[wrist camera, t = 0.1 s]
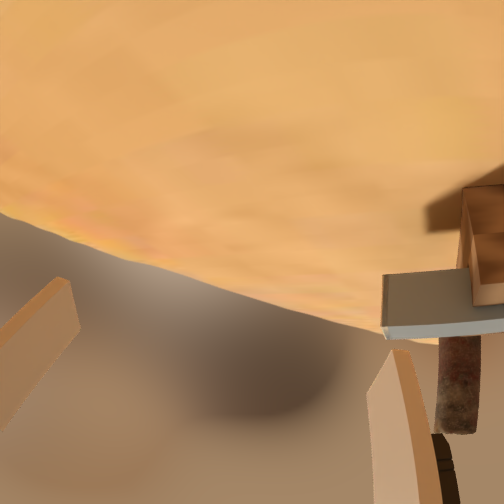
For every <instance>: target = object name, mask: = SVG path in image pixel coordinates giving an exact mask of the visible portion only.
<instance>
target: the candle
mask: <svg viewBox="0 0 504 504" xmlns="http://www.w3.org/2000/svg"><path fill="white" fill-rule="evenodd" d="M480 368H481V335H478V336H466V337H460V336H453V337H439V372H438V389H437V403H436V413H435V424H434V433H440V432H441V433H445V434H449V433H450V434H452V433H455V434H461V435H465V434H473V433H475V432H476V428H477V419H478V408H479V392H480V372H481V369H480Z"/></svg>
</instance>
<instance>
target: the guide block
mask: <svg viewBox="0 0 504 504" xmlns="http://www.w3.org/2000/svg"><path fill="white" fill-rule="evenodd" d="M462 268H469V272H470V281H471V292H472V305H473V307H478V306H488V305H498V304H504V185H492V186H481V187H470V188H463V195H462V215H461V228H460V239H459V249H458V257H457V264H456V269H462ZM497 333H504V332H497ZM487 334H496V333H487ZM487 334H477V335H466V336H478V335H487ZM466 336H460V337H466Z"/></svg>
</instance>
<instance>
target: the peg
mask: <svg viewBox="0 0 504 504" xmlns="http://www.w3.org/2000/svg"><path fill="white" fill-rule="evenodd" d="M380 327H381V329H382V332H383V334H384V336H385V338H386V339H418V338H437V337H453V336H466V335H477V334H487V333H497V332H504V304H498V305H488V306H478V307H473V305H472V292H471V281H470V272H469V268H462V269H450V270H439V271H426V272H414V273H401V274H387V275H382V305H381V324H380Z"/></svg>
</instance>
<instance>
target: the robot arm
mask: <svg viewBox="0 0 504 504" xmlns="http://www.w3.org/2000/svg"><path fill="white" fill-rule="evenodd" d="M80 330H81V327H80V323H79V319H78V316H77V312H76V307H75V303H74V299H73V294H72V290H71V285H70V281H69V280H66V279H63V278H60V277H56V278H55V279H54V280H53V281H52V282H50V283H49V284H48V285H47V286H46V287H45V288H44V289H42V290H41V291H40V292H39V293H38V294H37V295H36V296H35V297H33V298H32V299H31V300H30V301H29V302H28V303H27V304H26V305H25V306H24V307H23V308H22V309H20V310H19V311H18V312H17V313H16V314H15V315H14V316H13V317H12V318H11V319H10V320H9V321H8V322H7V323H6V324H5V325H4V326H3V327H2V328H1V329H0V431H2V432H3V430H4V429H5V428H6V426H7V424H8V423H9V422H10V420H11V419H12V418H13V416H14V415H15V413H16V412H17V411H18V409H19V408H20V406H21V405H22V403H23V402H24V401H25V400H26V398H27V397H28V396H29V394H30V393H31V391H32V390H33V389H34V388H35V386H36V385H37V384H38V382H39V381H40V380H41V378H42V377H43V376H44V375H45V373H46V372H47V371H48V369H49V368H50V367H51V365H52V364H53V363H54V362H55V361H56V359H57V358H58V357H59V355H60V354H61V353H62V352H63V351H64V349H65V348H66V347H67V346H68V345H69V343H70V342H71V341H72V340H73V339H74V337H75V336H76V335H77V334H78V332H79V331H80ZM366 395H367V405H368V414H369V425H370V436H371V449H372V464H373V484H374V504H460V498H459V491H458V485H457V479H456V474H455V471H454V464H453V461H452V454H451V450H450V446H449V443H448V442H447V441H446V439H445V437H444V436H443V434H442V433H438V434H431V432H430V428H429V423H428V419H427V414H426V410H425V406H424V402H423V398H422V394H421V391H420V387H419V383H418V380H417V376H416V372H415V369H414V366H413V362H412V359H411V355H410V352H409V351H407V350H398V349H391V351H390V353H389V355H388V357H387V359H386V361H385V362H384V364H383V366H382V368H381V370H380V372H379V373H378V375H377V377H376V379H375V380H374V382H373V384H372V385H371V387H370V389H369V390H368V392H367V394H366Z"/></svg>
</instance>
